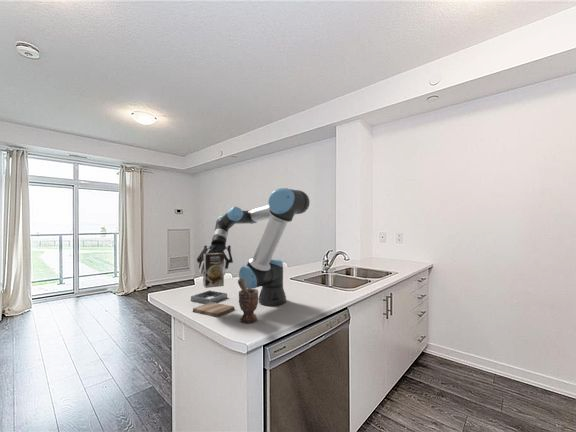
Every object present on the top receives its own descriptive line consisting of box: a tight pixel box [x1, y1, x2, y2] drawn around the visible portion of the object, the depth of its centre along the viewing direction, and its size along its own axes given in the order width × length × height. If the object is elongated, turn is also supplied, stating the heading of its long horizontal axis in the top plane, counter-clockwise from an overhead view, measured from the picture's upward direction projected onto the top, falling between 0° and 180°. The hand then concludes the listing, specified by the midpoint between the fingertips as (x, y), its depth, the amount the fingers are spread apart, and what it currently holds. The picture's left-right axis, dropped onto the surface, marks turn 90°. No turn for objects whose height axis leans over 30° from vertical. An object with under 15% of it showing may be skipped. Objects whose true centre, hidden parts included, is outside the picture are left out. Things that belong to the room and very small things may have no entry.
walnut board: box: [192, 302, 235, 318], centre depth 133 cm, size 16×12×2 cm
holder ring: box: [190, 290, 228, 305], centre depth 152 cm, size 14×14×2 cm
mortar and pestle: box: [237, 278, 259, 324], centre depth 119 cm, size 12×9×20 cm
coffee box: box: [202, 252, 225, 289], centre depth 134 cm, size 9×6×16 cm
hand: (212, 273), depth 131 cm, fingers closed on coffee box, 10 cm apart
